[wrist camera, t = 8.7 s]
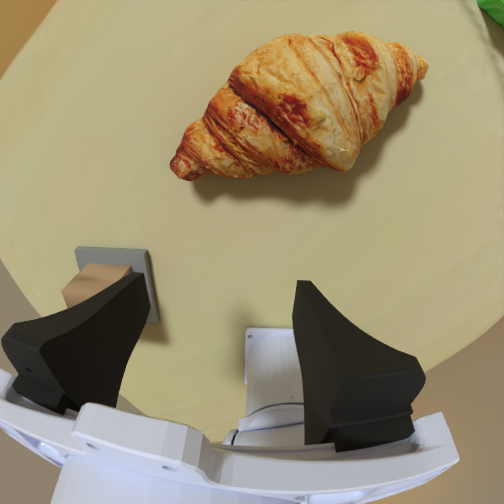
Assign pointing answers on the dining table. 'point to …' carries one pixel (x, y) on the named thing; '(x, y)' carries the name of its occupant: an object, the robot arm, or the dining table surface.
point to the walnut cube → (92, 281)
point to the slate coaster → (122, 257)
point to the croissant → (299, 106)
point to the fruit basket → (493, 9)
